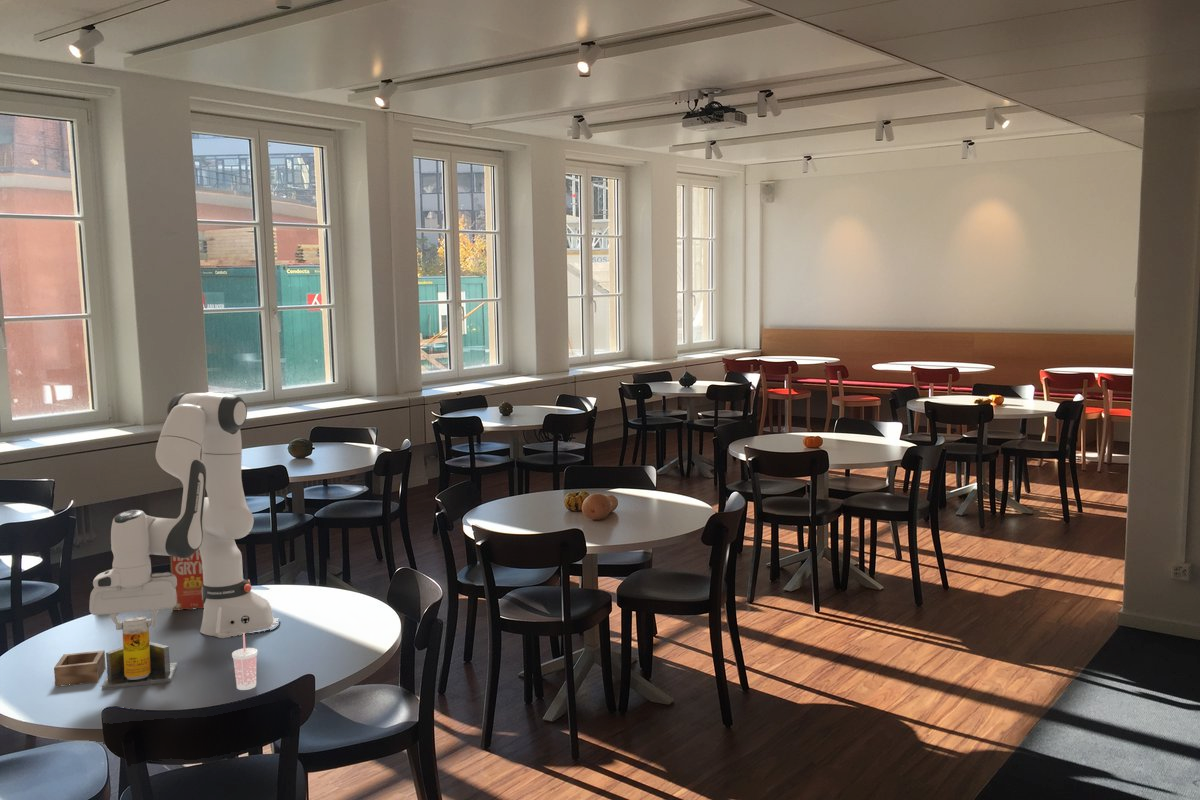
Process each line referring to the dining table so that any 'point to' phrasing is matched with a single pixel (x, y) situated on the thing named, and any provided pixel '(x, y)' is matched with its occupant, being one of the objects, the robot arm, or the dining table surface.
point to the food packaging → (188, 581)
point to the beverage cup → (245, 667)
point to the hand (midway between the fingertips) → (135, 627)
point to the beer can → (136, 648)
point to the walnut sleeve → (80, 668)
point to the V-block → (159, 674)
